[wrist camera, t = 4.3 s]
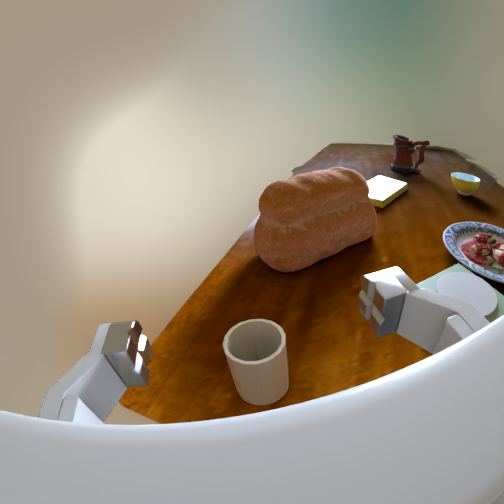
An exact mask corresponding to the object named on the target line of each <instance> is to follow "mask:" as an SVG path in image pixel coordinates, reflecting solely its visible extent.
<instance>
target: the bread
mask: <svg viewBox="0 0 504 504" xmlns="http://www.w3.org/2000/svg"><path fill="white" fill-rule="evenodd" d="M369 192H370V191H369V186H368V183H367V181H366V180H365V179H364V178H363V176H362V175H361V174H360V173H358V172H356V171H354V170H351V169H347V168H343V167H332V168H329V169H327V170H319V171H312V172H309V173H305V174H300V175H296V176H294V177H292V178H290V179H288V180H286V181H276V182H274V183H271V184H270V185H269V186H268V187H267V188H266V189H265V190H264V192H263V194H262V195H261V197H260V199H259V210H260V212H261V214H260V217H259V219H258V221H257V223H256V225H255V230H254V244H255V249H256V252H257V253H258V255H259V256H260V258H261V259H262V260H263V261H264V262H265V263H267V264H268V265H269V266H270V267H271V268H273V269H276V270H278V271H281V272H294V271H297V270H301V269H303V268H306V267H308V266H311V265H312V264H314V263H316V262H317V261H319V260H321V259H324V258H326V257H329V256H331V255H334V254H336V253H338V252H340V251H341V250H343V249H344V248H346V247H348V246H351V245H354V244H356V243H359V242H362V241H364V240H367V239H368V238H370V237H371V236H372V235H373V233H374V231H375V230H376V224H377V216H376V211H375V208H374V206H373V204H372V202H371V200H370V198H369Z"/></svg>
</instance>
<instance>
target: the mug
mask: <svg viewBox="0 0 504 504" xmlns="http://www.w3.org/2000/svg"><path fill="white" fill-rule="evenodd" d="M393 138H394V141H395V142H394V145H395V155H394V158H393V162H392V163H391V165H390V166H391V169H393V170H394V171H398V172H404V173H411V172H414V171H415V172H417V173H420V172H421V170H419V169H418V165H419V164H421V163H422V162H424V149H425V146H426V145H429V141H424V142H421V141H419V142H414V143H413V141H412V140H411V139H409V138H407V137H405V136H402V135H397V134H395V135H393ZM412 143H413V144H412ZM415 145H422V147H421V149H420V152H419V156H420V159H419V161H418V162H417V163H416V164H415V165H414V163H413V160H412V156H411V154H413V153H414V152H415V148H414V147H415Z"/></svg>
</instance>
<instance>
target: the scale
mask: <svg viewBox="0 0 504 504" xmlns="http://www.w3.org/2000/svg"><path fill="white" fill-rule="evenodd" d="M416 285H417V286H418V287H419V288H426V289H428V290H431V291H434V292H437V293H440V294H443V295H446V296H448V297H451V298H454V299H457V300H460V301H462V302H465V303H468V304H471V305H473V306H474V307H475V308H476V309H477V310H478V311H479V312H480V313H481V314H482V315H483V316H484V317H485V318H486V319H487V320H488V321H489V322H490V323H492V322H493V321H495V320H496V319H498V318H499V317H501V316H502V315H504V296H503V295H502V294H501V293H499V292H498V291H497V290H495V289H494V288H493V287H491V286H490V285H489V284H488V283H487V282H486V281H485V280H483V279H482V278H480V277H478V276H476V275H475V274H473V273H472V272H471V271H469V270H468V269H466V268H465V267H463V266H462V265H460V264H459V263H458V264H456V265H454V266H452V267H450V268H448V269H446V270H444V271H442V272H440V273H438V274H436V275H435V276H433V277H431V278H429V279H427V280H424V281H422V282H420V283H418V284H416Z"/></svg>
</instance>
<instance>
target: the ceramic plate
mask: <svg viewBox="0 0 504 504" xmlns="http://www.w3.org/2000/svg"><path fill="white" fill-rule="evenodd" d="M443 241H444V244H445V246H446V248H447V249H448V251H449V252H450V253H451V254H452V256H453V257H454V258H455V259H457V260H458V261H459V262H460V263H462V264H463V265H464V266H466V267H467V268H469V269H471V270H472V271H474V272H476V273H478V274H480V275H482V276H484V277H487V278H489V279H491V280H494V281H498V282H502V283H504V229H501V228H499V227H496V226H493V225H489V224H485V223H479V222H460V223H455V224H453V225H451V226H449V227H448V228H446V230H445V231H444V233H443Z"/></svg>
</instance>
